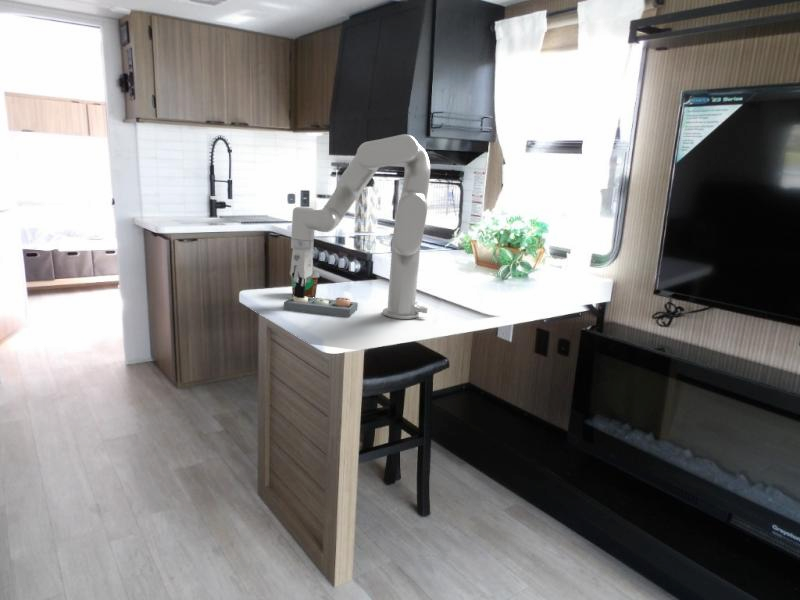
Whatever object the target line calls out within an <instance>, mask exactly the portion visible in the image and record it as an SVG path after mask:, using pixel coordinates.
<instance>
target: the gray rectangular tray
mask: <svg viewBox="0 0 800 600" xmlns="http://www.w3.org/2000/svg"><path fill="white" fill-rule="evenodd" d="M293 298H294V296H293V295H292V297H290V298H288V299H287V300H285V301H284V302H283V310H284V309H285V310H286V311H293V310H294V311H293V312H301V311H303V312H304V313H309V312H310V313H309V314H318V313H320V314H319V315H326V314H328V315H329V316H335V315H337V317H343V316H344V317H345V318H350V317H352V315H354V314H355V313H356V312H357V311H358V306H359V303H358V302H355V301H350V307H349V308H347V307H339V306H335V301H336V299H329V298H324V299H325V300H328V301H329V304H328V305H321V304H314V300H316V299H323V298H322V297H314V298H313V297H308V302H307V303H304V302H296V301H293ZM285 310H284V311H285ZM355 311H356V312H355ZM328 315H327V316H328Z"/></svg>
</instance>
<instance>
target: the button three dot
mask: <svg viewBox="0 0 800 600" xmlns="http://www.w3.org/2000/svg"><path fill="white" fill-rule="evenodd" d="M335 300H336V301H335V306H339V307H347V308H349V307H350V302H351V298H348V297H342V296H340V297H336V298H335Z"/></svg>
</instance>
